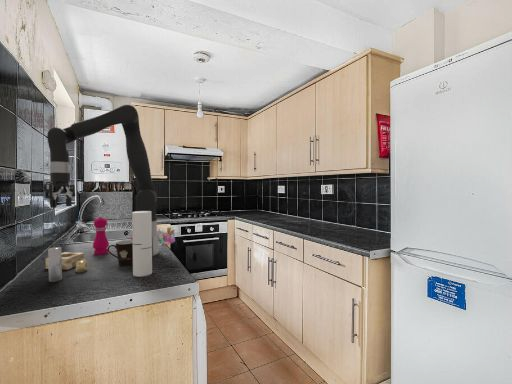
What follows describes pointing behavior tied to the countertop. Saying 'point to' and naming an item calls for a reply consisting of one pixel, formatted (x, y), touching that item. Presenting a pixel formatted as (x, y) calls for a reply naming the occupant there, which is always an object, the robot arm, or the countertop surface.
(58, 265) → the long pin
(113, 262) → the countertop surface
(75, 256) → the socket block
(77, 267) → the short pin
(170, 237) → the candy landscape model
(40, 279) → the countertop surface
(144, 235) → the cylindrical container
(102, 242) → the pepper mill
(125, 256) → the coffee mug
